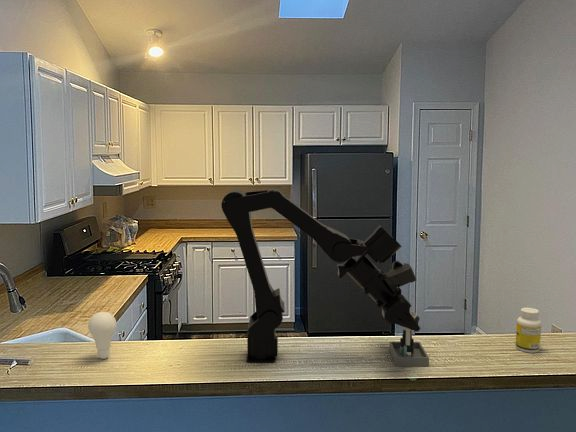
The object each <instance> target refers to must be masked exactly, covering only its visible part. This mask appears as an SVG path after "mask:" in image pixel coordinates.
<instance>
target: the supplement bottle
mask: <svg viewBox="0 0 576 432" xmlns="http://www.w3.org/2000/svg"><path fill="white" fill-rule="evenodd" d="M539 316H540V310H539V309H536V308H534V307H533V308H532V307H522V308H521V309H520V316H519V317H517V320H516V331H515V333H516V334H515V348H516V349H517V350H519V351H521V352H524V353H528V354H529V353H530V354H532V353H533V354H534V353H538V352H540V350H541V340H542V337H541V336H542V335H541V334H542V321H541V319H539Z"/></svg>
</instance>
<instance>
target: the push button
mask: <svg viewBox="0 0 576 432" xmlns="http://www.w3.org/2000/svg"><path fill="white" fill-rule="evenodd" d="M410 313H411V315H412V316H413V318H414V319H415V321H416V322H417V324H418V325H419V322H420V316H418V315H417V314H416V312H415V311H412V310H410ZM400 327H401V328H403V329H402V334H401V335H402V336H401V338H399V340H400V341H399V342H400V344H401V347H400V354H401V349H402V353H403V356H404V357H412V354H414V347H413V345H414V342H415V340H414V338H413V336H412V331H413V330H411V329H408V328H406V327H403V326H400Z"/></svg>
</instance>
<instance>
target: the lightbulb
mask: <svg viewBox="0 0 576 432" xmlns="http://www.w3.org/2000/svg"><path fill="white" fill-rule="evenodd" d="M117 323H118V322H117V320H116V318H115V316H114V315H113V314H112V313H111V312H110V313H109V312H108V311H99V312H97V313H94V314H93V315H92V316H91V317H90V319H89V321H88V323H87V324H88V325H87V329H88V331H89V333H90V335H91V336H92V338H93V341H94V343H95V348H96V350H97V357H98V358H99V359H102V360H106V359H107V358H108V357H110V355H111V354H110V348H111V346H112V345H111V343H112V338H113V336H114V334H115V331H116V329H117Z"/></svg>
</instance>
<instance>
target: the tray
mask: <svg viewBox="0 0 576 432" xmlns="http://www.w3.org/2000/svg"><path fill="white" fill-rule="evenodd" d="M388 343H389V345H388V350H389V352H390V355H391V358H392V359H393V362H394V364H395V366H396V367H429V366H430V357H429V355H428V353H427V352H426V350H425V348H424V347H423V345H422V343H421V342H420V341H414V345H413V347H414V354H412V357H404V356H403V353H402V349H401V354H400V347H401V344H400V341H389V342H388Z"/></svg>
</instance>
